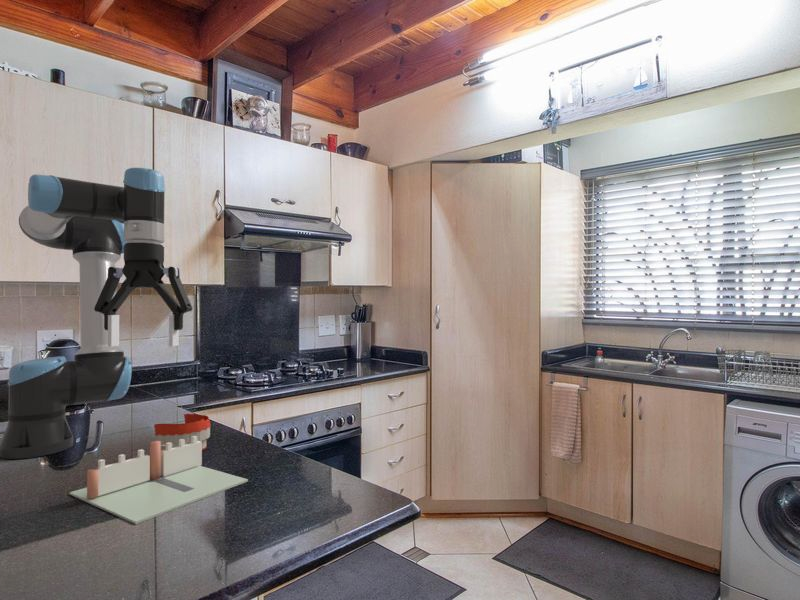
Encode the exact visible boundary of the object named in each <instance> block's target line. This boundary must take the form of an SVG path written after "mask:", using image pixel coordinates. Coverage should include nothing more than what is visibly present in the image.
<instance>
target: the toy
mask: <svg viewBox="0 0 800 600" xmlns="http://www.w3.org/2000/svg"><path fill="white" fill-rule="evenodd" d="M183 416H184V417H183V418H184V423H155V424H153V426H154V432H155V433H154V434H155V441H161V451H162V450H166V443H168V442H170V443H172V448H174V447H177V446H179V440H180V439H184V440H185V444H189V443H191V437H192V436H197V441H201V442H202V452H204V450H206V449H207V447H208V445H207V440H208V439H209V438H210V437H211V426H212V425H211V424H212V423H211V421H210V417H209V416H208V415H206V414H195V413H194V414H193V413H184V414H183Z"/></svg>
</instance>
